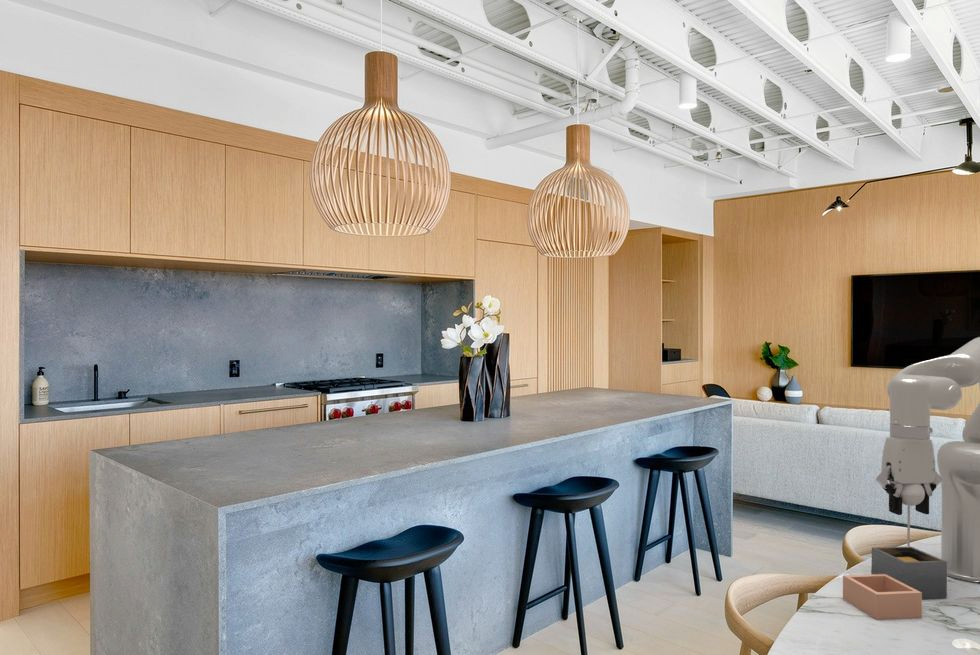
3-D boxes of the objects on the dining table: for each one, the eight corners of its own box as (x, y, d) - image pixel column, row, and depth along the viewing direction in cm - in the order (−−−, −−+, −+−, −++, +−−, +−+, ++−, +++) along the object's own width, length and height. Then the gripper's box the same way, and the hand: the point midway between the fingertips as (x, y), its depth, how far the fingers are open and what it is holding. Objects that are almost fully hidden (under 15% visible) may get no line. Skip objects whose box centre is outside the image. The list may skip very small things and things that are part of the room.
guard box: (910, 580, 148) (911, 546, 148) (946, 598, 138) (946, 561, 139) (871, 582, 147) (871, 547, 147) (904, 600, 137) (905, 563, 137)
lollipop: (919, 552, 139) (920, 483, 139) (888, 545, 143) (889, 478, 143) (928, 546, 143) (928, 479, 143) (898, 539, 147) (898, 474, 147)
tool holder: (885, 597, 139) (885, 574, 139) (921, 617, 129) (921, 592, 129) (842, 598, 138) (843, 575, 138) (876, 619, 128) (876, 594, 128)
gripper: (930, 429, 148) (930, 507, 148) (862, 430, 146) (861, 509, 146) (958, 435, 140) (957, 517, 140) (886, 435, 138) (886, 518, 138)
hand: (908, 512), depth 143 cm, fingers closed on lollipop, 5 cm apart
